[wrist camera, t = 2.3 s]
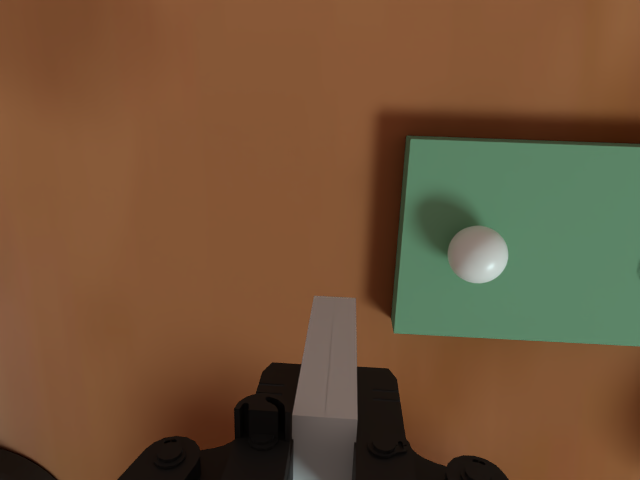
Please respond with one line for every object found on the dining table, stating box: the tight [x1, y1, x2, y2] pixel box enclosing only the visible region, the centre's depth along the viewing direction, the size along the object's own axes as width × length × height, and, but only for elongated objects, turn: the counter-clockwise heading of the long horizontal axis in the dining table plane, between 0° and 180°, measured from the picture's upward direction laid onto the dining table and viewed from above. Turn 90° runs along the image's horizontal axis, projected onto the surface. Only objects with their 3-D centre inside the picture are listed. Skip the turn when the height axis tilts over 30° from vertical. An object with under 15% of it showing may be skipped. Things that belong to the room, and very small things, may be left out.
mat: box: [391, 136, 640, 346], centre depth 29 cm, size 24×12×2 cm, turn 88°
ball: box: [448, 226, 508, 283], centre depth 26 cm, size 3×3×3 cm
